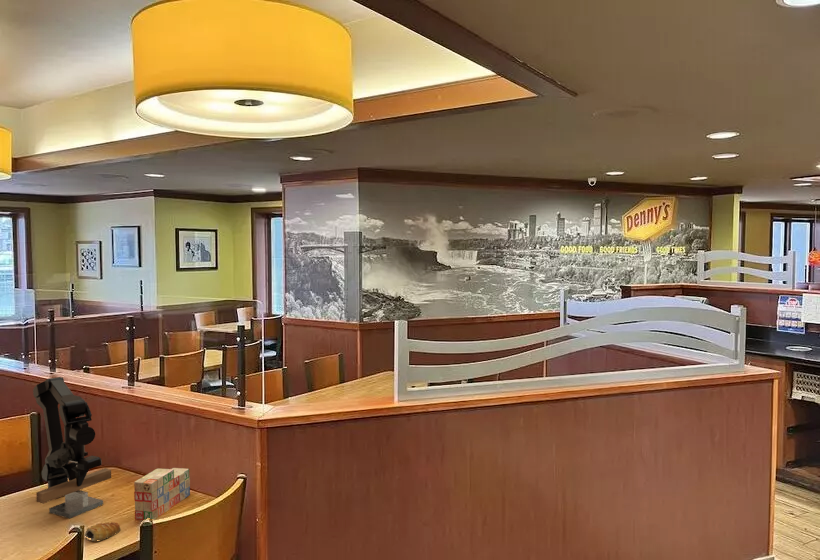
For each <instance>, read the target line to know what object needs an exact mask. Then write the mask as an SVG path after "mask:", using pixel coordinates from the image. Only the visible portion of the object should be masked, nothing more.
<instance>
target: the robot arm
mask: <svg viewBox="0 0 820 560" xmlns="http://www.w3.org/2000/svg"><path fill="white" fill-rule="evenodd" d="M32 393H33V394H32V395H33V397H34V399H35V401H36V404H37V405H38V406H39V407H40V408H41V409H42V411H43V420H44V423H45V424H44V426H45V432H46V439H47V446H48V452H47V454H46V457H45V459H44V463H45V464H44V466H43V467H42V470H41V478H42V480H44V481H45V482H47V488H50V487H53V486H56V485H59V484H62V483H64V482H67V481H70V480H73V479H76V482H77V486H78V487H79V486H81V485H82V483H83V480H84V478H85V476H86V475H87V474H88V472H89V470H91V469H94V468H97V467H100V466H102V462H103V461H102V458H101V457H99V456H98V455H97V456H95V455H89V454H88V451H86V448H85V447H86V445H90V444H91V443H92V442H93V441H94V440H95V438H96V431H95V429H94V428H93V427H92V426H89V422H91V421H92V416H93V414H92V412H91V409H90V406H89V405H88V403H87V401H86V400H85V399H84V398H82V397H81V396H80V395H75V394H74V393H73V392H72V391H71V389H70V388H69V387H68V385H67V384H66V383H65V380H64V377H61V376H58V377H57V376H55V377H51V378H50V377H48V378H47V379H45V380H44V381H43V382H40V383H38V384H36V385H35V386H34V388H33V389H32ZM61 420H62V421H61ZM61 422H62V423H63V425H64V426H63V430H64V431H62V424H61ZM63 433H64V435H63Z"/></svg>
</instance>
